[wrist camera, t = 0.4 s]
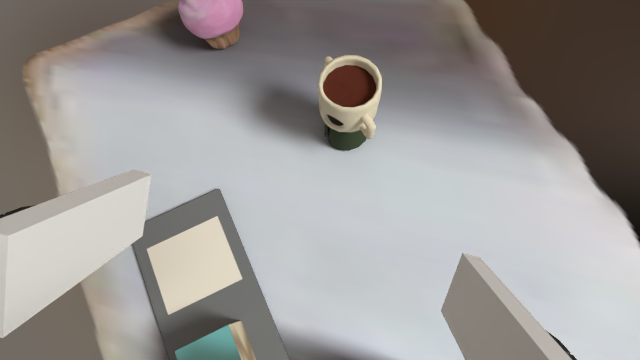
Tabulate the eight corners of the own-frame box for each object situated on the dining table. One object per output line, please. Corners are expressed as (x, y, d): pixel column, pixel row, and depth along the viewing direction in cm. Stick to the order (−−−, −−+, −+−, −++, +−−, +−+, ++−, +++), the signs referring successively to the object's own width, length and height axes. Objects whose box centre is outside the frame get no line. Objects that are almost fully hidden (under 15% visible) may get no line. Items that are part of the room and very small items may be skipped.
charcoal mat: (305, 397, 42) (304, 398, 42) (201, 452, 41) (199, 454, 41) (219, 189, 50) (218, 188, 49) (130, 230, 49) (128, 229, 48)
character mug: (306, 113, 53) (297, 58, 41) (348, 91, 54) (353, 31, 41) (343, 174, 50) (346, 137, 38) (387, 151, 51) (404, 106, 38)
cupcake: (237, 7, 59) (218, -48, 49) (261, 45, 57) (246, -4, 47) (187, 30, 58) (158, -21, 48) (209, 71, 56) (183, 26, 46)
